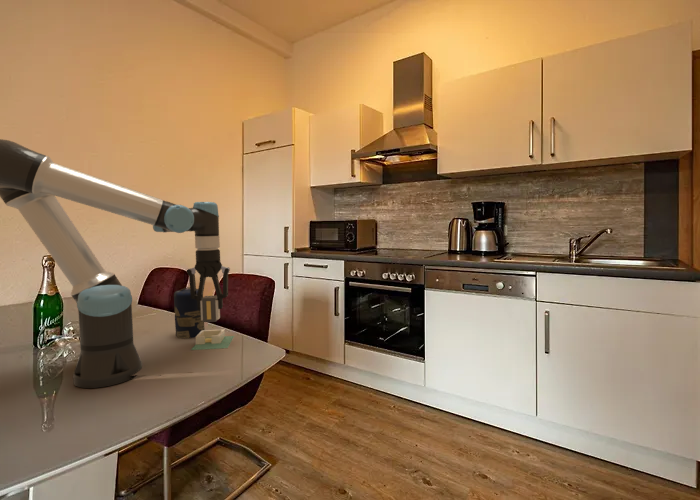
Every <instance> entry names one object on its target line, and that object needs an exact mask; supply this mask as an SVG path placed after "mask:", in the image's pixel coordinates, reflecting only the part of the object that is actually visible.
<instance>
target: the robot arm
mask: <svg viewBox="0 0 700 500" xmlns="http://www.w3.org/2000/svg"><path fill="white" fill-rule="evenodd" d="M57 198H61V199H65V200H69V201H71V202H74V203H75V202H76V203H79V204H82V205H85V206H89V207H90V208H91V207H92V208H95V209H98V210H101V211H105V212H108V213H111V214H115V215H118V216H121V217H125V218H128V219H132V220H135V221H138V222H141V223H144V224H148V225H152V229H153V231H154V232H156V233H177V234H181V233H183V234H184V233H185V232H194V236H195V237H194V246H195V247H194V248H195V249H196V250H195V265H194V267H192V268H188V269H187V270H186V274H187V275H188V281H189V282H188V283H189V287H190V293H191V299H196V300H197V309H198V310H201V320H203V309H202V298H203V297H204V292H205V291H204V289H205V285H206V284H205V283H206V280H207V278H211V280H212V282H213V285H214V289H215V296H217V299H216V300H215V305H216V320H217V321H218V320H219V319H220V318H221V309H223V307H224V305H223V303H224V301H223V299H225V298H227V297H228V296H229V274H230V271H231V268H230V267H225V266H223V264H222V263H221V250H220V249H219V248H220V247H221V245H220V244H221V242H220V225H219V224H220V222H219V221H220V220H219V219H220V215H219V207H218V204H217V203H216V202H214V201H213V202H212V201H195V202H193V206H192V207H187V206H185V205H184V204H183V205H182V204H177V203H174V202H170V201H167V200H163V199H162V198H158V197H155V196H153V195H150V194H147V193H145V192H141V191H138V190H135V189H133V188H130V187H126V186H123V185H120V184H117V183H115V182H111V181H108V180H106V179H103V178H100V177H97V176H94V175H91V174H89V173H88V174H87V173H85V172H82V171H79V170H76V169H74V168H71V167H68V166H65V165H61V164H59V163H55V162H54V161H53V160H52V158H51V157H50V156H49V155H46V154H42V153H40V152H37V151H35V150H32V149H30V148H27V147H25V146H23V145H22V144H19V143H17V142H14V141H11V140H7V139H2V138H1V139H0V199H1V200H2V201H3V203H4V204H5V205H6V206H7V207H10V208H14V209H16V210H18V211H19V213H20V214H21V216H22V217H23V219H24V220H25V221H26V222H27V224H28V226H29V227H30V228H31V230H32V231H33V233H34V234H35V235H36V237H37V238H38V240H39V241H40V242H41V244H42V245H43V247H44V248H45V249H46V252H48V254H49V255H50V256H51V258H52V259H53V261H54V262H55V263H56V264H57V266H58V268H59V269H60V270H61V272H62V273H63V275H64V276H65V278H66V279H67V280H68V283H70V285H71V286H72V290H71V292H70V296H71V297H72V299H74V301H75V303H76V307H77V309H78V311H77V313H78V327H79V343H80V353H79V356H78V359H77V362H76V366H75V369H74V371H73V375H72V376H73V377H72V378H73V385H74V386H75V387H77V388H83V389H93V388H94V389H97V388H104V387H110V386H114V385H117V384H122V383H124V382H127V381H129V380H132V379H134V378H136V377H137V376H138V374H136V373H139V371H141V369H142V368H143V362H142V360H141V357H140V354H139V353H138V350H137V348H136V346H135V344H134V327H133V305H132V304H133V296H132V292H131V290H130V288H129V287H127V286H125V285H122V283H121V281H120V280H119V279H118V277H117V276H116V274H115V273H114V272H111V271H107V270H105V268H104V267H103V265H102V264H101V263H100V261H99V260H98V258H97V256H96V255H95V254H94V252H93V251H92V249H91V248H90V246H89V245H88V243H87V242H86V241H85V239H84V237H83V236H82V234H81V233H80V232H79V230H78V229H77V227H76V225H75V224H74V222H73V221H72V220H71V217H69V215H68V213H67V212H66V211H65V209H64V207H63V206H62V205H61V203H60V202H59V200H58V199H57ZM220 271H221V274H222V288H221V286H220V285H221V284H220V280H219V275H218V274H219V272H220ZM196 272H197V273H198V274H199V282H198V288H197V283H196V275H195V274H196ZM196 289H198V294H196Z"/></svg>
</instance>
